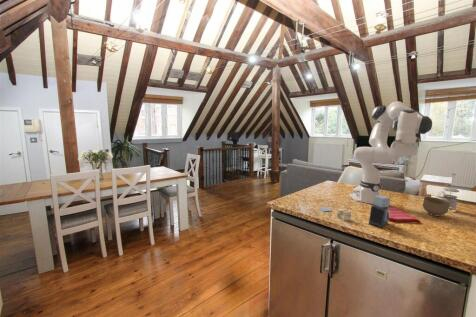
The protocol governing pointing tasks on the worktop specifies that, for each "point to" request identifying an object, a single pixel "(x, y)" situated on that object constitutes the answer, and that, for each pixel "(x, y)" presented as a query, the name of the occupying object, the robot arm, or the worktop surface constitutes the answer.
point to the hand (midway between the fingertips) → (401, 163)
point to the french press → (450, 196)
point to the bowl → (435, 205)
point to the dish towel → (400, 215)
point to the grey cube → (381, 201)
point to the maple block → (343, 214)
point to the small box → (379, 216)
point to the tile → (325, 209)
